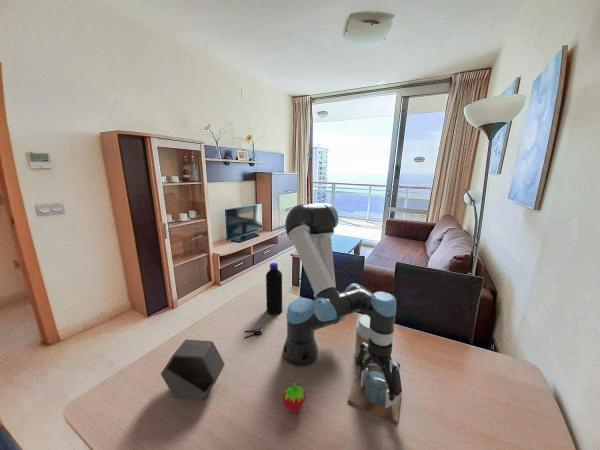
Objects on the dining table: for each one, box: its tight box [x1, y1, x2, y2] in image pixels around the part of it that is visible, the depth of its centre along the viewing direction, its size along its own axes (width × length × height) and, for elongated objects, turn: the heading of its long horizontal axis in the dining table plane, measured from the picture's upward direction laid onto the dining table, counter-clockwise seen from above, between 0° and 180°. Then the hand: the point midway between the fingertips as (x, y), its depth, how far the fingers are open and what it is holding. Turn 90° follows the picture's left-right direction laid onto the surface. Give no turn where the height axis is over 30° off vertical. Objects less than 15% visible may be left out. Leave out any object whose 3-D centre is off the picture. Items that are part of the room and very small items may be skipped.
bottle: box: [265, 262, 283, 316], centre depth 134 cm, size 9×9×28 cm
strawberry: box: [282, 382, 306, 413], centre depth 79 cm, size 6×7×10 cm
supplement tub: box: [354, 314, 378, 367], centre depth 102 cm, size 12×12×17 cm
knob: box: [365, 370, 387, 405], centre depth 84 cm, size 7×7×7 cm
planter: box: [160, 339, 225, 401], centre depth 85 cm, size 17×8×21 cm
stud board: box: [347, 374, 402, 425], centre depth 84 cm, size 16×12×6 cm
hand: (375, 395), depth 84 cm, fingers open, 9 cm apart
